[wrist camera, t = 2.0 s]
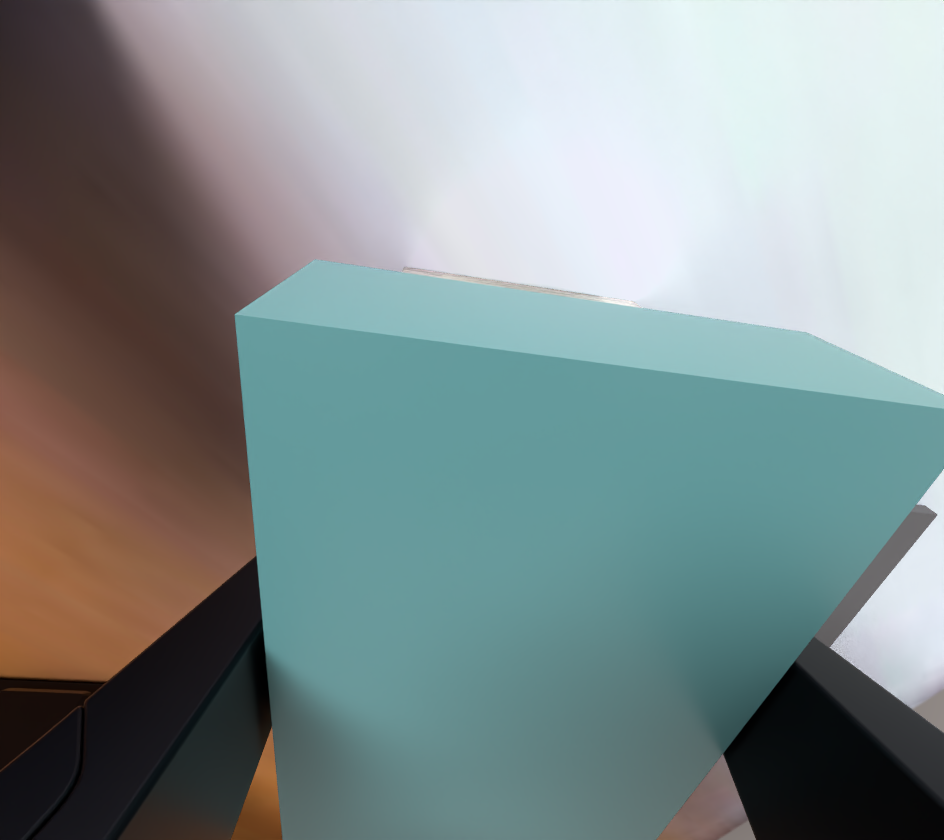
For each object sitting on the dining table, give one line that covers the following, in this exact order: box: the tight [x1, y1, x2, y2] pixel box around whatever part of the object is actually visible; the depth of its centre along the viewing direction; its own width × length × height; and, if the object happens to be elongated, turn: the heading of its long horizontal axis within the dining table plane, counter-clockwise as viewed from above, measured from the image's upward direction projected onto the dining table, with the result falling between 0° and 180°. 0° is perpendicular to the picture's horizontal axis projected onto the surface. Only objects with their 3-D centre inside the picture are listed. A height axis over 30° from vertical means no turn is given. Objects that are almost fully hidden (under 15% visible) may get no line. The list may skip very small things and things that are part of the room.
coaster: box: [814, 505, 937, 647], centre depth 15 cm, size 9×9×1 cm
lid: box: [235, 259, 944, 840], centre depth 7 cm, size 9×7×2 cm
